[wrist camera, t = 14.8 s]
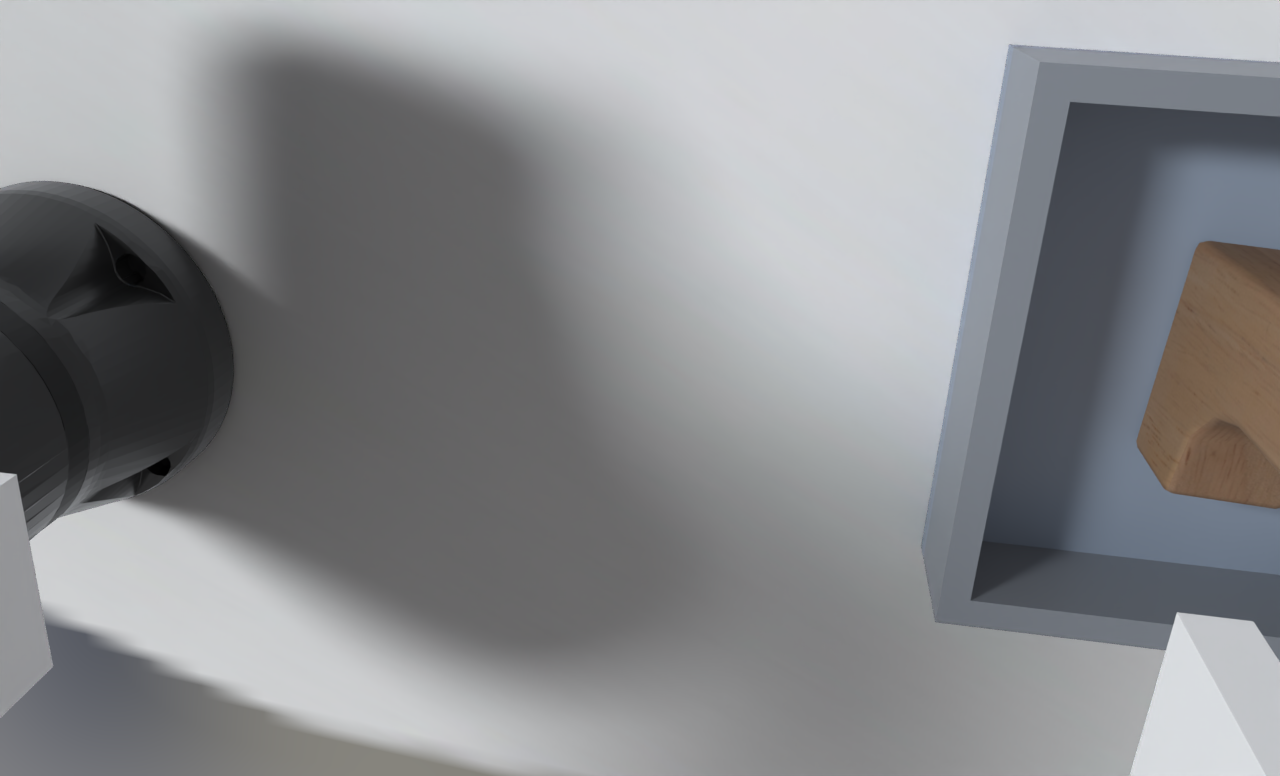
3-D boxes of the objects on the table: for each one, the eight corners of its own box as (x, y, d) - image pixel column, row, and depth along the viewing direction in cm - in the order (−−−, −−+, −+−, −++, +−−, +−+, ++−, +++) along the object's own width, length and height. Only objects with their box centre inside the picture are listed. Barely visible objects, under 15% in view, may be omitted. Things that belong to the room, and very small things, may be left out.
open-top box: (921, 546, 50) (935, 621, 45) (1009, 44, 42) (1039, 61, 36) (1386, 600, 48) (1461, 686, 43) (1581, 82, 39) (1706, 106, 34)
